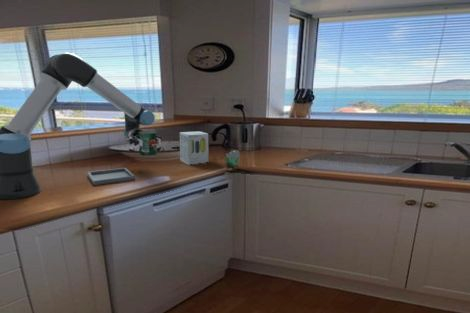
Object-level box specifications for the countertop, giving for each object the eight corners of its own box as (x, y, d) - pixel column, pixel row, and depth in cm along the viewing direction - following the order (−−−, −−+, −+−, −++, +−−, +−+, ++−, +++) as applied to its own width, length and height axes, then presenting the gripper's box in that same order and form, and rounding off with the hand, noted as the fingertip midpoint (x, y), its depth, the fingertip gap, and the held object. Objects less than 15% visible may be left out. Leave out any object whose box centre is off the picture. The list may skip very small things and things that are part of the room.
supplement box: (187, 165, 177) (187, 134, 173) (179, 160, 188) (179, 132, 184) (208, 162, 183) (208, 133, 180) (199, 158, 194) (199, 131, 191)
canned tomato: (139, 153, 150) (138, 131, 148) (156, 152, 152) (155, 130, 150) (140, 156, 143) (139, 133, 140) (157, 156, 145) (156, 132, 143)
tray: (135, 179, 146) (134, 175, 145) (93, 185, 136) (93, 181, 136) (125, 171, 161) (125, 167, 160) (87, 175, 151) (87, 172, 151)
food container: (237, 172, 161) (237, 154, 159) (225, 172, 163) (225, 153, 161) (241, 167, 173) (241, 149, 171) (230, 166, 174) (231, 149, 172)
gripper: (157, 142, 167) (172, 149, 148) (117, 145, 156) (128, 152, 138) (156, 128, 166) (172, 133, 147) (116, 130, 155) (127, 135, 136)
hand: (151, 142), depth 142 cm, fingers closed on canned tomato, 8 cm apart
